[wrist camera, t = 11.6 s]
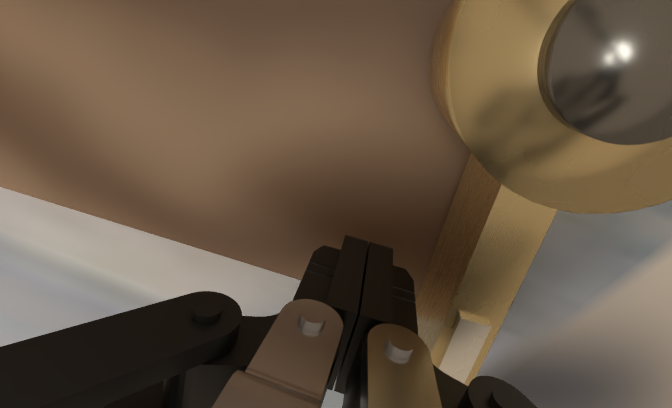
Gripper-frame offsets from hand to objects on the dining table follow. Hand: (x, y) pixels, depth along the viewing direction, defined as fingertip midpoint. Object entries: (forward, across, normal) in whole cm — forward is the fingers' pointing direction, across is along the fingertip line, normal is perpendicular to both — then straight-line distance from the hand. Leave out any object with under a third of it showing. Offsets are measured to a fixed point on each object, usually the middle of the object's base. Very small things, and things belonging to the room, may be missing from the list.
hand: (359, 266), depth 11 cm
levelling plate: (+4, +10, -7) cm, 13 cm away
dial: (+1, -3, -3) cm, 5 cm away
